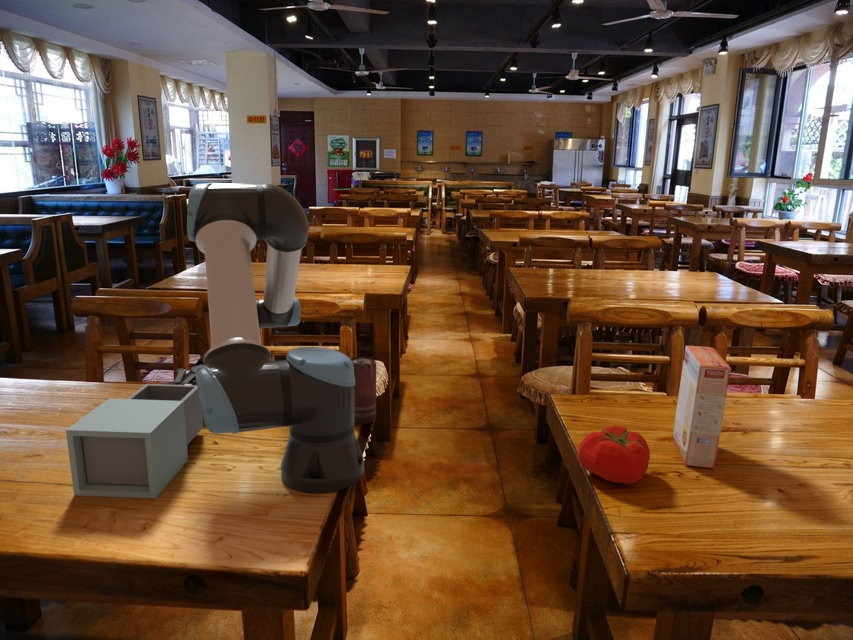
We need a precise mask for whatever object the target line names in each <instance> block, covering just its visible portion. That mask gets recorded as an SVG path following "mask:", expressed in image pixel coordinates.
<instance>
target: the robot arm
mask: <svg viewBox="0 0 853 640" xmlns="http://www.w3.org/2000/svg"><path fill="white" fill-rule="evenodd" d="M188 193H189V194H188V201H187V214H186V215H187V217H186V231H187V237H188V238H187V239H188V241H190V242H193V243H195V245H196V247H197V249H198V250H199V251H200V252H201V253H202V254H204V262H205V265H204V266H205V275H206V288H207V289H206V290H207V303H208V317H209V328H210V329H209V331H210V332H209V333H210V344H211V348H210V349H208V351H206V352H205V353H204V354H203V355H202V356H200V357H199V358H198V359H197V361H196V363H195V365H194V366H191V367H190V368H189V370H186V369H183V368H178V369H177V376H176V377H175V379H174V382H173V385H196V386H197V388H198V392H199V400H200V405H201V410H202V416H203V423H204V425H205V427H206V429H207V430H208V432H210V433H212V434H215V435H218V434H221V435H222V434H235V435H236V434H237V435H238V434H239V433H244V432H252V431H259V430H260V431H261V430H269V429H276V428H277V429H278V428H284V427H289V436H288V440H287V444H286V446H285V449H284V450H285V451H284V453H283V457H282V459H281V463H280V475H281V480H282V482H283V483H284V484H285V485H287V486H288V487H289V488H291V489H294V490H297V491H300V492H304V493H312V494H313V493H315V494H323V493H333V492H338V491H342V490H344V489H347V488H350V487H352V486H353V485H355V484H356V483H359V481H360V480H361V479H362V478H363V476H364V474H365V460H364V458H365V457H364V456H363V453H362V449H361V447H360V445H359V442H358V439H357V436H356V433H355V424H354V385H355V378H354V367H353V363H352V361H351V359H352V358H350V357H349V356H347V355H346V354H344V353H343V352H341V351H337V350H334V349H330V348H326V347H325V348H324V347H318V346H302V347H301V346H299V347H297V348H292V349H290V350H289V351H288V352H287V353H286V356H285V358H286V359H282V360H278V359H277V360H273V359H272V353H271V350H270V349H269V348H268V347H266V346H265V345H263V344H262V342H261V333H260V329H261V328H262V329H263V328H265V329H267V328H268V329H269V328H287V327H292V326H293V327H294V326H297V325H299V324H300V323H301V315H302V314H301V313H302V312H301V304H300V300H299V298H297V297H295V295H296V289H297V282H298V277H299V274H298V273H299V268H300V262H301V261H300V260H301V255H302V249H303V248H304V247H305V246H306V245H307V242H308V239H309V233H310V228H309V221H308V218H307V214H306V213H305V210H304V208H303V206H302V204H301V203H300V202H299V201H298V200H297V199H296V198H295V197H294V196H293V195H292V194H291V193H290V192H289V191H287V190H286V189H284V188H282V187H281V186H278V185H275V184H272V183H231V182H230V183H229V182H228V183H225V182H223V183H222V182H213V181H212V182H211V181H210V182H208V183H197V184H194V185H192V187H191V188H190V190H189V192H188ZM257 241H264V242H265V243H266V244H267V249H266V261H265V274H264V277H265V279H264V289H263V290H264V291H263V298H257V297H256V291H255V283H254V275H253V266H252V264H253V263H252V256H251V251H252V250H253V249H254V248H255V246H256V244H257ZM256 298H257V299H256Z"/></svg>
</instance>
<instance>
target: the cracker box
mask: <svg viewBox="0 0 853 640" xmlns="http://www.w3.org/2000/svg"><path fill="white" fill-rule="evenodd" d="M684 347H685V348H684V355H683V361H682V368H681V369H682V370H681V377H680V382H679V384H680V385H679V388H678V389H679V390H678V398H677V404H676V412H675V418H674V424H673V431H672V439H673V441H674V443H675V447H676V448H677V450H678V452H679V454H680V457H681V459H682V461H683V464H684V466H689V467H697V468H698V467H699V468H704V469H705V468H706V469H715V467H716V461H717V456H718V449H719V445H720V444H719V443H720V437H721V432H722V426H723V425H722V424H723V421H724V420H723V418H724V413H725V407H726V400H727V395H728V388H729V384H730V379H731V371H732V368H731V367H730V365H729V364H728V363H727V362H726V361H725V359H723V358H722V356H721V355H720V354H719V353H718V351H717V350H716V348H714V347H711V346H710V347H709V346H699V345H697V346H696V345H685V346H684Z"/></svg>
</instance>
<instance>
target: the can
mask: <svg viewBox="0 0 853 640" xmlns="http://www.w3.org/2000/svg"><path fill="white" fill-rule="evenodd" d="M350 359H351V361H352V363H353V367H354V378H355V385H354V423H355V424H354V425H358V424H361V425H360V426H362V425H369V424H372V423H374V422H375V420H376V418H377V362H376V361H375V359H374V358H373V357H369V356H356V357H352V358H350Z"/></svg>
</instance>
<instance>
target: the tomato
mask: <svg viewBox="0 0 853 640" xmlns="http://www.w3.org/2000/svg"><path fill="white" fill-rule="evenodd" d="M577 456H578V460H579V462H580V465H581V466H582V467H583V468H584V469H586V471H588V472H590V473H592V474H594V475H595V476H597V477H599V478H602V479H604V480H605V481H607V482H608V483H610V482H611V483H620V484H625V485H626V484H627V485H631V484H635V483H637V482H639V481H640V480H641V479H643V477H644V476H645V474H646V472H647V470H648V468H649V462H650V458H651V457H650V456H651V451H650V448H649V444H648V442H647V441H646V439H645V438H644V436H642V435H641V434H640V433H639V432H637V431H634V430H633V431H632V430H628V429H627V428H626V427H625V426H620V425H611V426H607V427H605V428H603V429H601V431H593V432H590V433H588V434H586V436H584V438H583V440H582V441H581V442H580V443H579V446H578V449H577Z"/></svg>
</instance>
